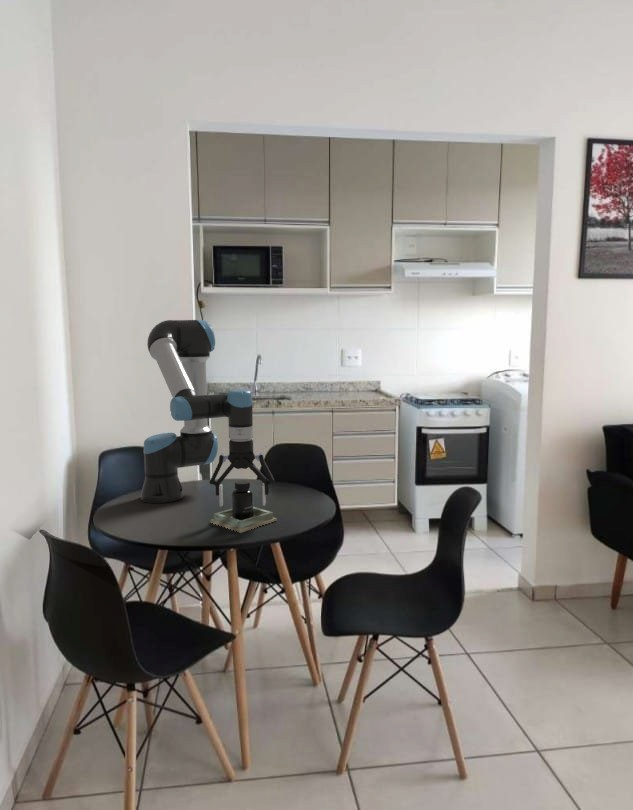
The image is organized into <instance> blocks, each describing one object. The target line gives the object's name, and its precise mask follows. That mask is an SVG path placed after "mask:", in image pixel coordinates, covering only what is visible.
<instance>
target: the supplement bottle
mask: <svg viewBox="0 0 633 810" xmlns="http://www.w3.org/2000/svg"><path fill="white" fill-rule="evenodd" d="M254 507H255V506H254V492H253V490H252V489H251V482H250V481H249V480H239V481H238V480H237V481H235V482H234V490H233V491H232V492H231V509H232V518H234V519H238V520H245V519H248V518H251V517H254Z"/></svg>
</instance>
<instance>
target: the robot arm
mask: <svg viewBox="0 0 633 810" xmlns="http://www.w3.org/2000/svg"><path fill="white" fill-rule="evenodd" d="M215 336H216V335H215V332H214V329H213V327H212V325H211V324H210V323H209V321H207V320H203V319H176V320H175V319H167V320H163V321H160V322H159V323H157V324H156V325H155V326H153V328H152V329H151V331H150V332H149V334H148V338H147V344H146V345H147V350H148V352H149V355H150V356H151V358H152V359H153V360H155V361H156V364H157V365H158V368H159V370H160V372H161V375H162V377H163V379H164V382H165V384H166V386H167V388H168V390H169V392H170V394H171V397H172V399H171V400H170V403H169V411H170V416H171V417H172V419H173V420H174V421H177V422H179V421H180V422H183V425H184V426H183V427H182V428H181V429H180V431H179V433H180V435H177V434H176V433H175V432H166V433H165V432H163V433H158V434H153V435H151V436H148V437H146V438H145V440H144V441H143V458H144V459H143V461H144V462H143V463H144V465H143V466H144V482H143V485H142V487H141V488H142V489H141V492H140V500H141V501H142V502H144V503H149V504H164V503H172V502H175V501H179V500H181V499H183V498H184V489H183V486H182V484H181V480H180V478H179V476H178V475H179V472H178V469H180V468H189V467H197V466H204V465H208V464H212V463H213V462H214V461H215V460H216V458H217V456H218V453H219V452H218V450H219V441H218V437H217V434H216V433H214V432H213V429H212V428H211V427H210V425H208V419H218V418H220V419H221V418H228V419H227V421H228V438H229V441H228V450H229V453H228V454H224V453H220V455H219V457H218V463H217V465H216V467H215V469H214V472H213V473H212V476H211V478H210V479H209V480H210V481H209V484H210V485H214V487H215V495H216V496H218V497H219V500H218V501H219V507H223V505H224V497H223V496H224V494H223V484H222V482H223V481H224V480H225V479H226V477H227V476H228V475H229V474H230V472H232V470H233V469H234V468H235V469H237V470H240V469H243V470H246V469H248V468H249V469H250V470H251V471H252V472H253V473H254V474H255V475H256V476H257V477H258V478H259V480H260V481H261V482H262V485H261V488H262V506H264V507H265V506H266V502H267V501H266V496H268V495H269V493H270V487H269V485H270V484H274V482H275V478H274V476H273V473H272V472H271V470H270V469H269V466H268V465H267V462H266V461H265V456H264V453H262V452H261V453H260V452H259V454H255V453H254V440H253V437H254V422H253V420H254V419H253V418H254V417H253V404H254V402H253V401H254V400H253V394H252V391H251V390H249V389H231V390H229V391H228V392H219V393H217V394H208V393H207V391H208V390H207V361H208V359H209V358H210V356H211V355H210V353H212V352H213V351H214V350H215V346H216V337H215ZM255 459H256V460H257V462H259V463H260V466H261V467H262V469H263V471H264V474H265V475H266V476H267V477H266V476H265V475H264V474H263V473H262V472H261V471H260V470H259V468H258V467H257V466H256V465H255V463H254V461H255ZM226 460H228V461H229V462H230V464H229V466H228V467H227V468H225V471H224V472H223V473H222V474H221V475H220V476H219V478H218V479H217V476H218V474H219V472H220V470H221V468H222V466H223V463H225V462H226Z"/></svg>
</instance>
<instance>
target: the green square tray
mask: <svg viewBox="0 0 633 810" xmlns="http://www.w3.org/2000/svg"><path fill="white" fill-rule="evenodd" d="M274 521H277V522H278V518H277V517H274V512H273V511H269V510H266V509H263V508H259V507H255V506H254V517H251V518H248V519H245V520H238V519H234V518H232V508H229V509H224V510H222V511H218V512H215V513H213V518H212V519H210V520H209V522H210V524H212V523H213V524H212V525H215V524H216V525H215V526H218V525H219V526H218V527H221V526H222V527H221V528H224V527H225V528H224V529H227V528H228V529H227V530H230V529H231V530H230V531H233V530H234V531H233V532H236V531H237V532H236V533H239V534H242V533H245V532H248V531H252V530H254V528H255V529H257V527H258V528H260V527H259V526H261V527H263V526H262V525H264V526H266V525H265V524H267V525H269V524H268V523H270V524H272V523H271V522H274ZM274 523H275V522H274ZM251 529H252V530H251Z"/></svg>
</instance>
